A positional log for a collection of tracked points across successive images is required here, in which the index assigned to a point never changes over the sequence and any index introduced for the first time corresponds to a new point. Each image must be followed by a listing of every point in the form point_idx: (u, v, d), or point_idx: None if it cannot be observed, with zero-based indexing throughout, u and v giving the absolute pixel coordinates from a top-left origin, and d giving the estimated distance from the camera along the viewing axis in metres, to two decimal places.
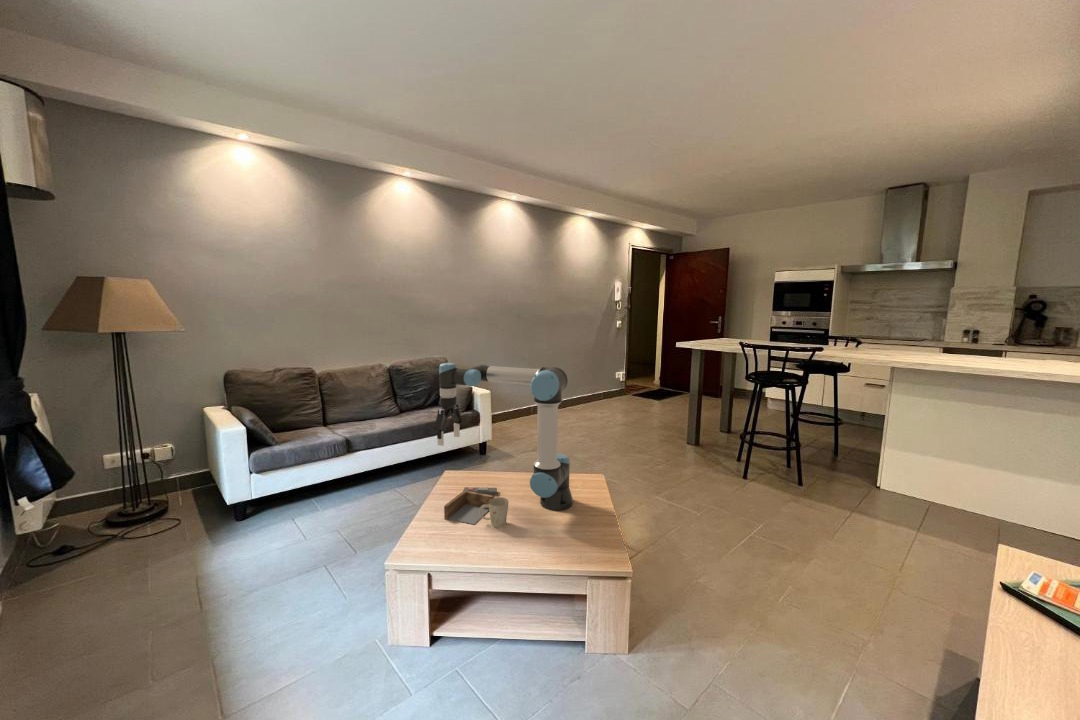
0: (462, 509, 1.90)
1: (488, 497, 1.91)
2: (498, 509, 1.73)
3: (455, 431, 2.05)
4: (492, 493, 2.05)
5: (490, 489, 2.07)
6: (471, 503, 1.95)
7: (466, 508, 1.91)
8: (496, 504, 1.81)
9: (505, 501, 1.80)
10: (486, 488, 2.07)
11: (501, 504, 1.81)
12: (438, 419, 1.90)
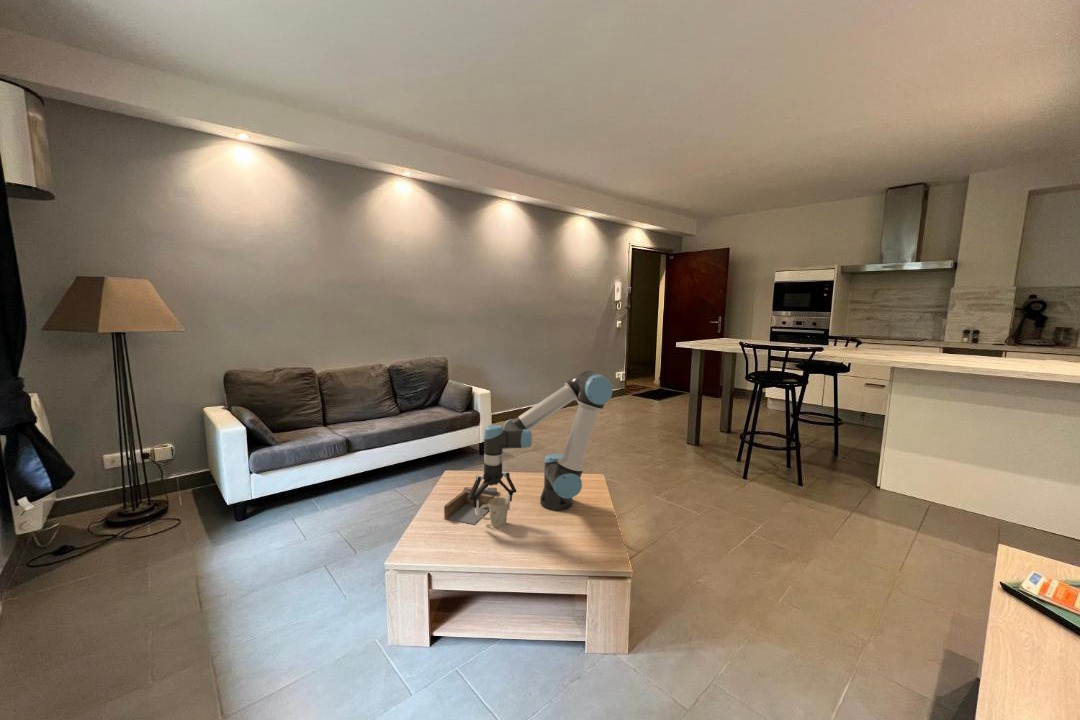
0: (462, 509, 1.90)
1: (488, 497, 1.91)
2: (498, 509, 1.73)
3: None
4: (492, 493, 2.05)
5: (490, 489, 2.07)
6: (471, 503, 1.95)
7: (466, 508, 1.91)
8: (496, 504, 1.81)
9: (505, 501, 1.80)
10: (486, 488, 2.07)
11: (501, 504, 1.81)
12: (474, 486, 1.73)
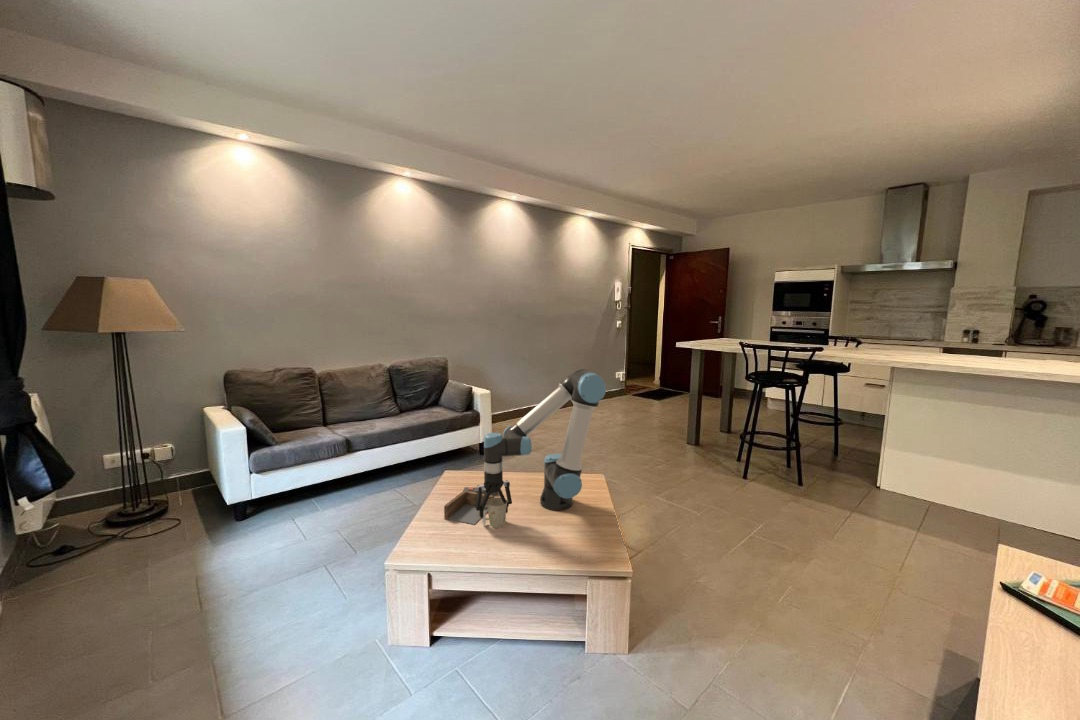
0: (462, 509, 1.90)
1: None
2: (496, 509, 1.73)
3: None
4: (492, 493, 2.05)
5: None
6: (471, 503, 1.95)
7: (466, 508, 1.91)
8: (495, 504, 1.81)
9: None
10: None
11: (500, 504, 1.81)
12: (477, 496, 1.74)
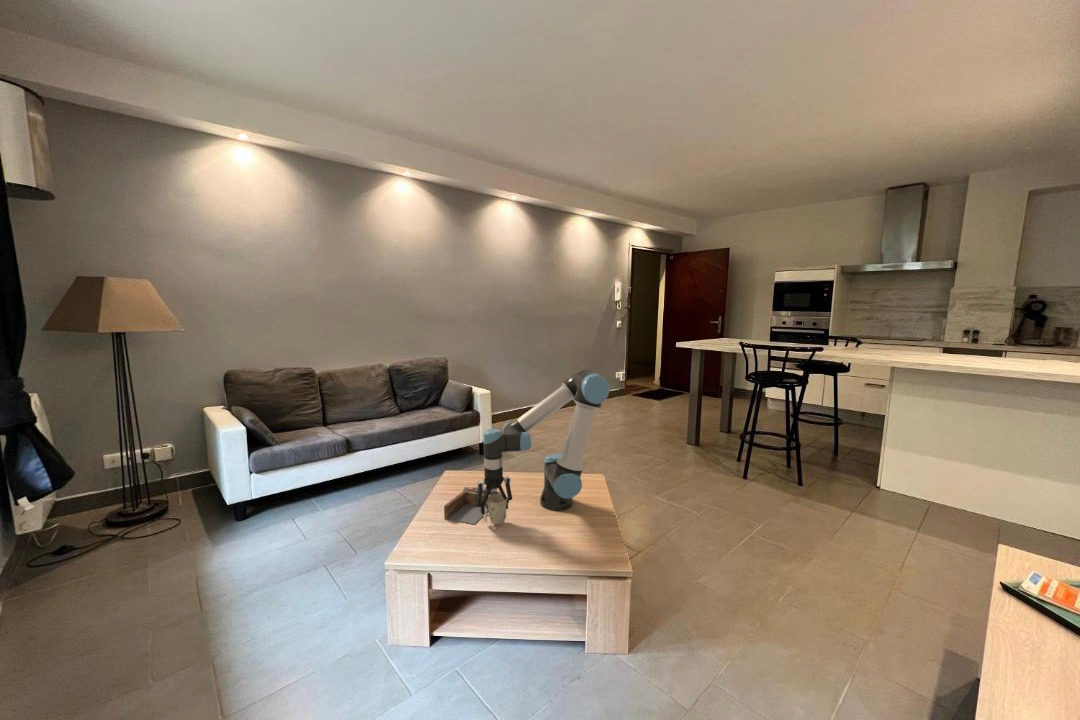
0: (462, 509, 1.90)
1: None
2: (496, 506, 1.73)
3: None
4: (492, 493, 2.05)
5: None
6: (471, 503, 1.95)
7: (466, 508, 1.91)
8: (495, 501, 1.81)
9: None
10: None
11: (500, 501, 1.81)
12: (478, 493, 1.74)
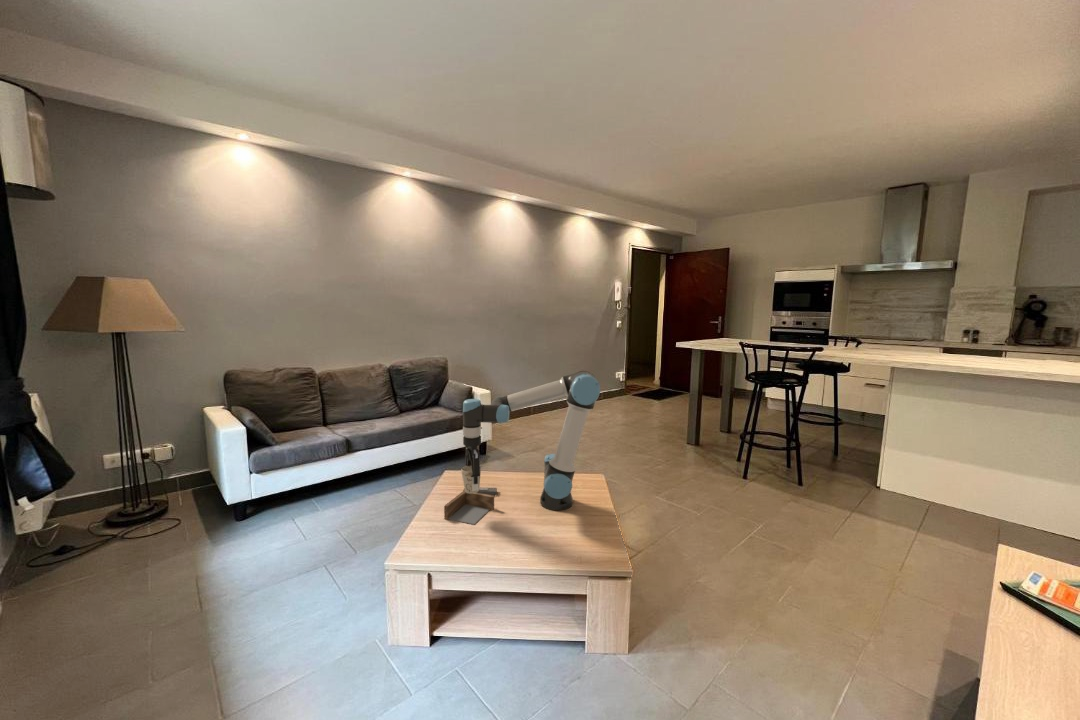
0: (462, 509, 1.90)
1: (488, 497, 1.91)
2: None
3: None
4: (492, 493, 2.05)
5: (490, 489, 2.07)
6: (471, 503, 1.95)
7: (466, 508, 1.91)
8: None
9: None
10: (486, 488, 2.07)
11: None
12: None
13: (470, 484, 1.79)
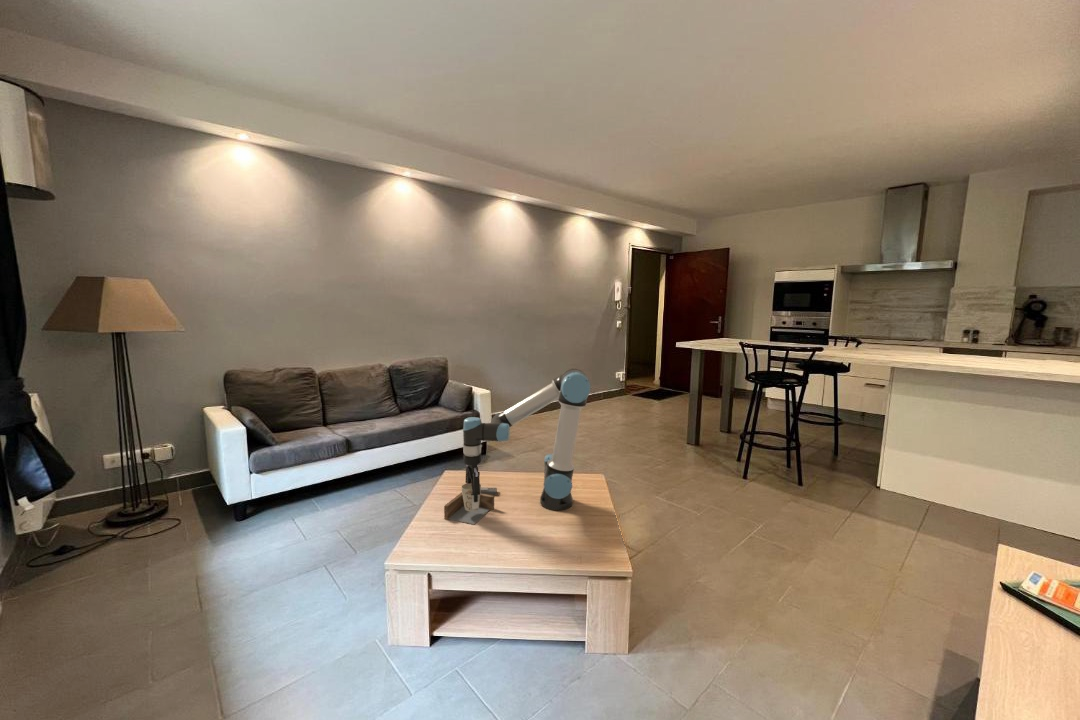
0: (462, 509, 1.90)
1: (488, 497, 1.91)
2: None
3: None
4: (492, 493, 2.05)
5: (490, 489, 2.07)
6: None
7: None
8: None
9: None
10: (486, 488, 2.07)
11: None
12: None
13: (470, 502, 1.80)
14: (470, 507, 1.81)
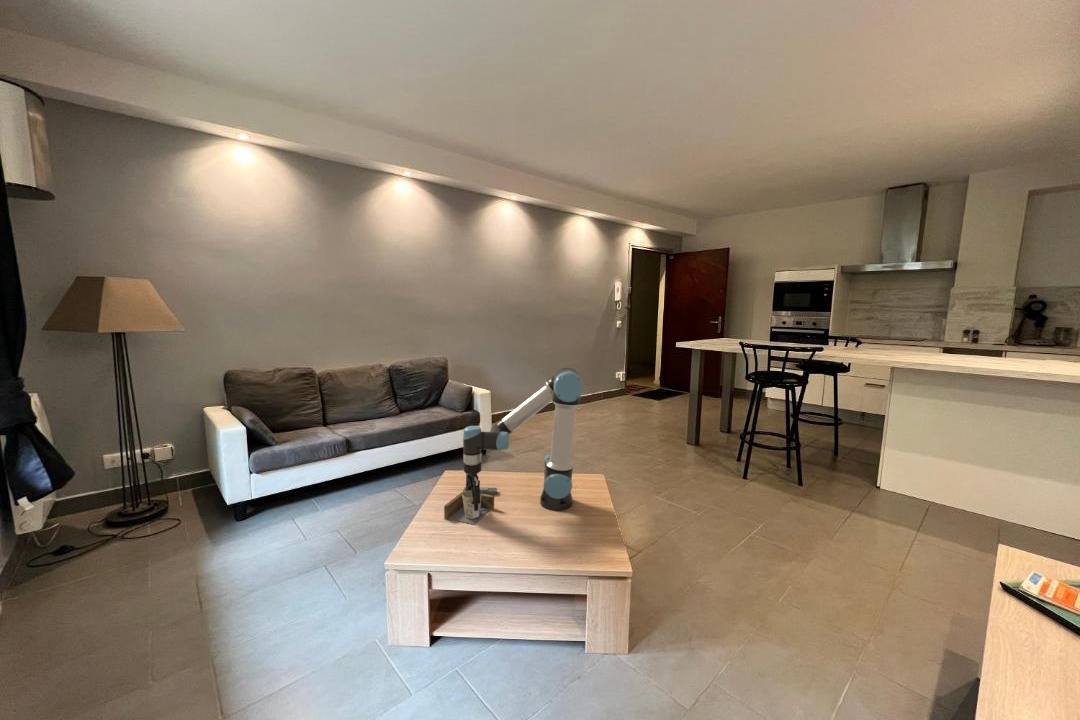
0: (462, 509, 1.90)
1: (488, 497, 1.91)
2: None
3: None
4: (492, 493, 2.05)
5: (490, 489, 2.07)
6: None
7: None
8: None
9: None
10: (486, 488, 2.07)
11: None
12: None
13: (471, 510, 1.80)
14: (470, 515, 1.81)
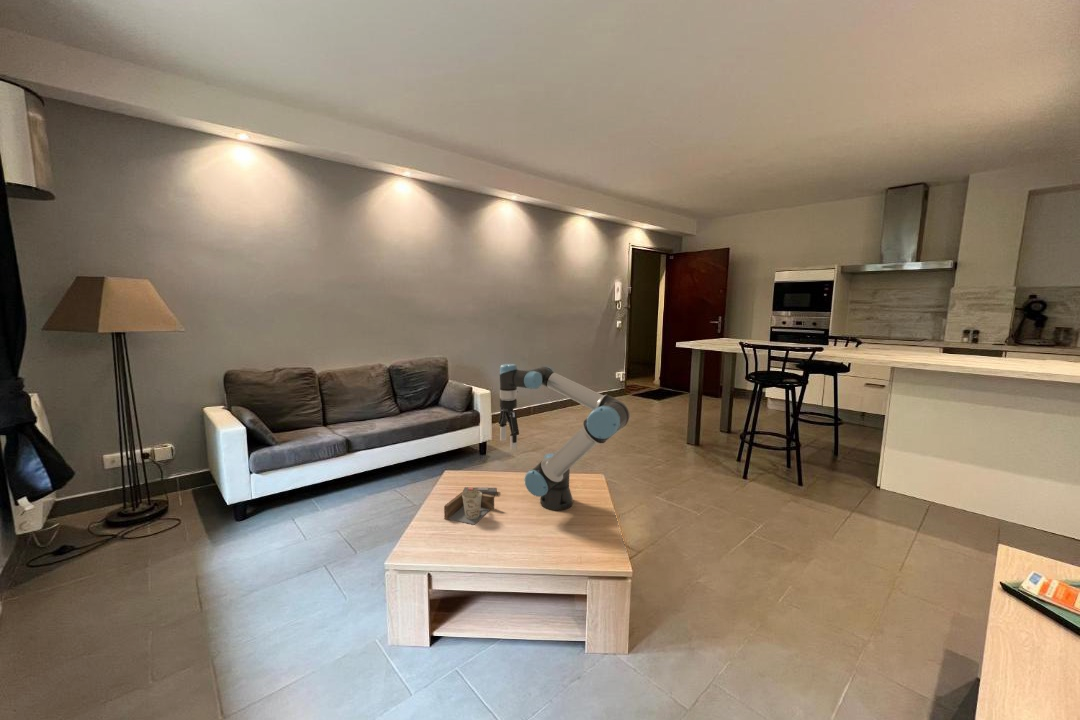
0: (462, 509, 1.90)
1: (488, 497, 1.91)
2: None
3: None
4: (492, 493, 2.05)
5: (490, 489, 2.07)
6: None
7: None
8: None
9: None
10: (486, 488, 2.07)
11: None
12: None
13: (471, 510, 1.80)
14: (471, 515, 1.81)
